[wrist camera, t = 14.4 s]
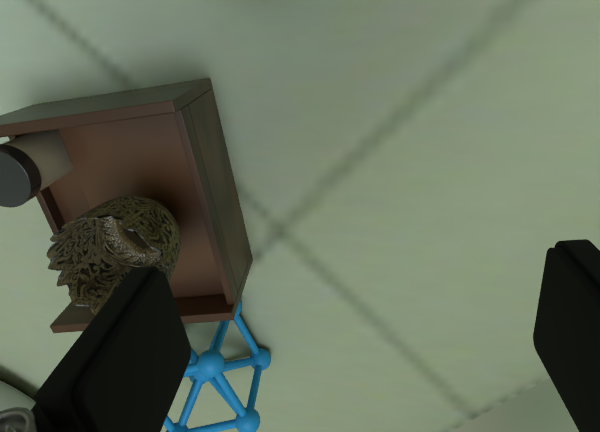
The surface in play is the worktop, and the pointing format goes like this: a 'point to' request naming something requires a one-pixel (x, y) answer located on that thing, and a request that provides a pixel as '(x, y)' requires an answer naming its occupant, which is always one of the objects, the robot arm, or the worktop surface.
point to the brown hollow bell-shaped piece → (113, 247)
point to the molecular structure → (223, 382)
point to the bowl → (13, 398)
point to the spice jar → (31, 166)
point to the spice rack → (152, 183)
